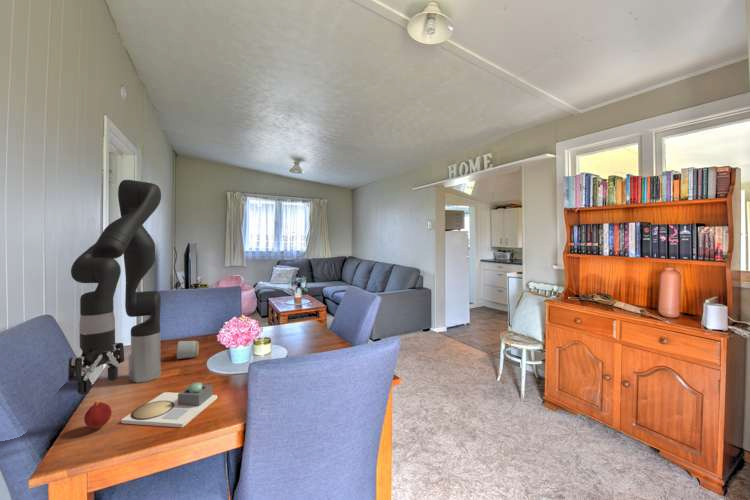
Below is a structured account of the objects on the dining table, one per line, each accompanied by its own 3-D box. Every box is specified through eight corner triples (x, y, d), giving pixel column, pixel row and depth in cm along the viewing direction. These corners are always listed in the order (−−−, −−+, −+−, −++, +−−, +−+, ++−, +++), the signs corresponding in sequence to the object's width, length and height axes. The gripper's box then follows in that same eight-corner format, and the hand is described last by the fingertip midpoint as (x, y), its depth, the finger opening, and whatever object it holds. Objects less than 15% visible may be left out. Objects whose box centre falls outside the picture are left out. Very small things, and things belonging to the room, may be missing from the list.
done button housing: (178, 405, 102) (177, 394, 101) (192, 394, 108) (192, 384, 108) (198, 406, 101) (198, 395, 101) (212, 395, 108) (212, 385, 108)
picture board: (119, 423, 93) (119, 419, 93) (163, 394, 110) (163, 391, 110) (182, 427, 91) (182, 423, 91) (217, 398, 108) (217, 394, 108)
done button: (186, 396, 103) (186, 387, 103) (193, 390, 107) (193, 382, 107) (197, 396, 103) (197, 388, 102) (204, 391, 106) (204, 382, 106)
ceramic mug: (197, 358, 143) (197, 341, 143) (176, 361, 140) (176, 344, 140) (199, 351, 153) (199, 335, 153) (179, 354, 149) (179, 337, 149)
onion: (95, 422, 93) (95, 395, 93) (116, 422, 94) (116, 395, 93) (78, 435, 87) (78, 406, 87) (101, 434, 88) (101, 405, 88)
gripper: (108, 322, 97) (109, 375, 97) (58, 336, 83) (59, 398, 83) (131, 323, 96) (132, 376, 97) (84, 336, 82) (86, 399, 83)
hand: (98, 386), depth 90 cm, fingers open, 8 cm apart
